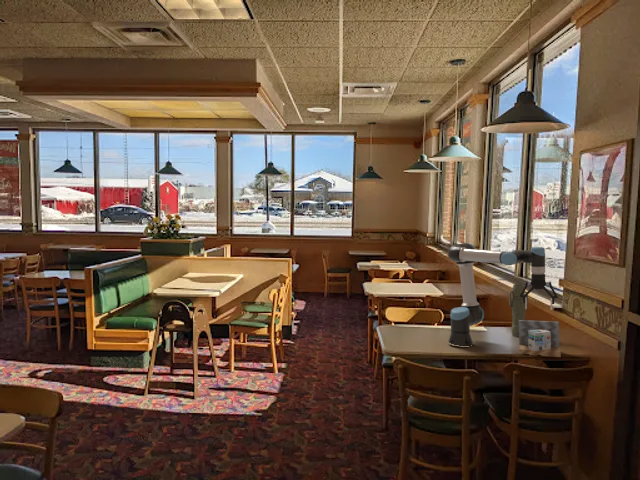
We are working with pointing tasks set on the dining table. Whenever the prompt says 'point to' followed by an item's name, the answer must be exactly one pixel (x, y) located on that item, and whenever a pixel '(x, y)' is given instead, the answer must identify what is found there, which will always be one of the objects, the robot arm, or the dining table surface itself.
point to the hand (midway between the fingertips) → (538, 309)
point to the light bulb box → (539, 339)
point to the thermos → (517, 307)
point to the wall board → (537, 325)
